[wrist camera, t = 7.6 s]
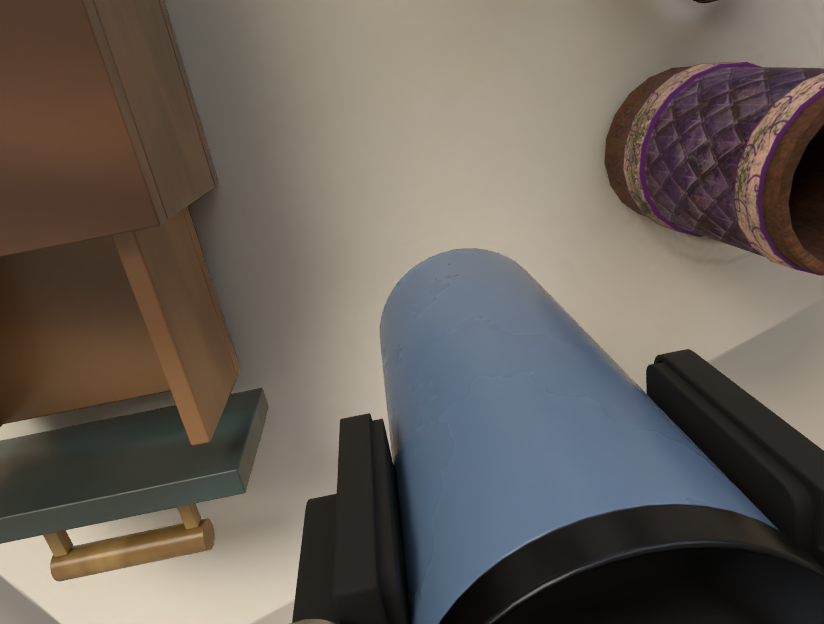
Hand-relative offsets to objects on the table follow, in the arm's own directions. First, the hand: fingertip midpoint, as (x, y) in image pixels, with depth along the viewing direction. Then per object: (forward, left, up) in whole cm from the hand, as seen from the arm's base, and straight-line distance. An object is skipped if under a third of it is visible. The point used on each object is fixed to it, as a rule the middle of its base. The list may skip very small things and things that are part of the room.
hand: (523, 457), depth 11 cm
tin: (0, 0, -6) cm, 6 cm away
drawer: (+2, -16, -18) cm, 24 cm away
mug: (-2, +14, -19) cm, 24 cm away
